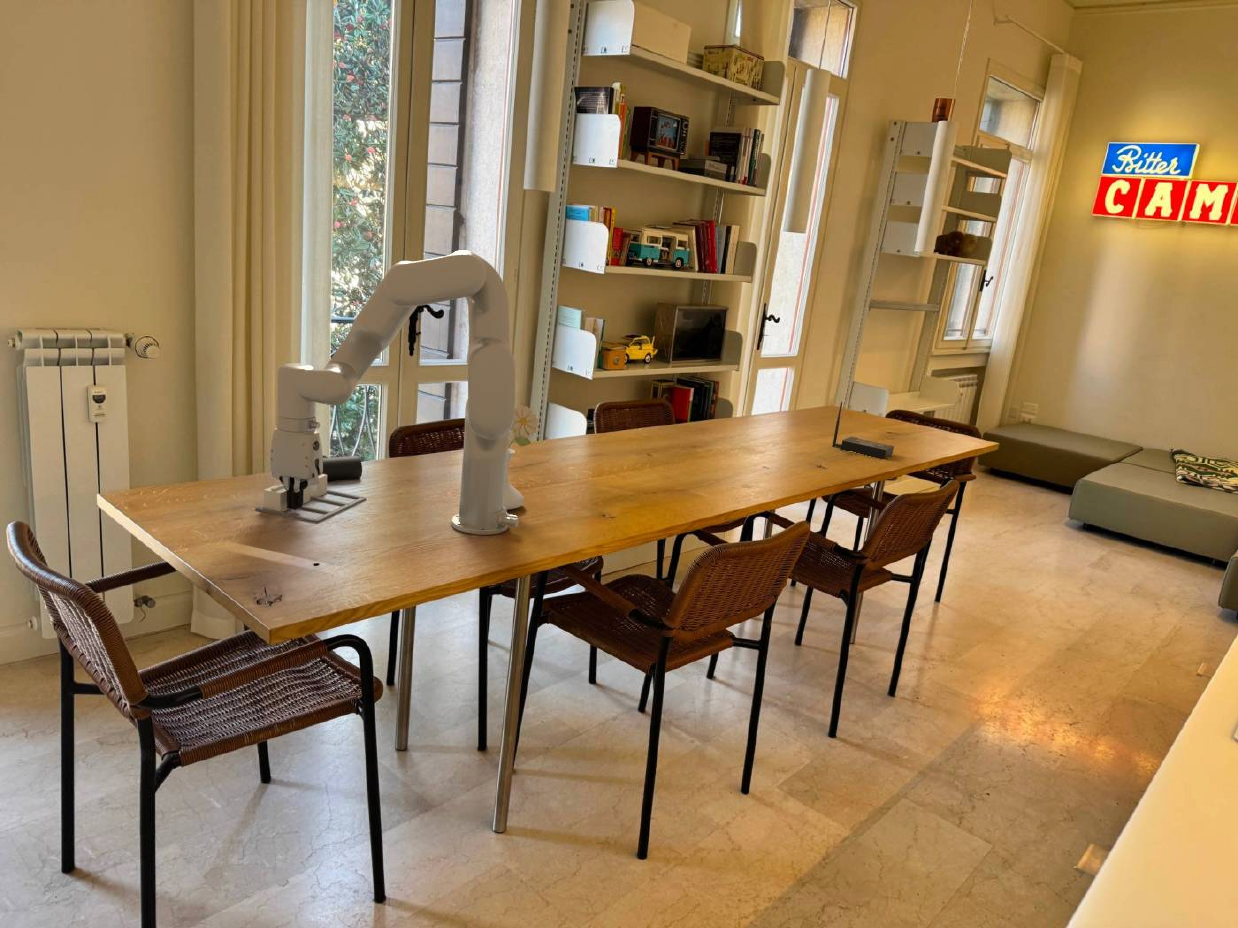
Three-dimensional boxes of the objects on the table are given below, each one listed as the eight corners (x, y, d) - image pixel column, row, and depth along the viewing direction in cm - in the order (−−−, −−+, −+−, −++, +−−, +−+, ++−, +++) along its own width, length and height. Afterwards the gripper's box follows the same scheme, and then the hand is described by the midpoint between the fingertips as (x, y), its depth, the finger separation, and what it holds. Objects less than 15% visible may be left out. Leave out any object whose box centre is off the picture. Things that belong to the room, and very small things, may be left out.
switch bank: (368, 505, 199) (368, 497, 198) (319, 529, 181) (319, 521, 181) (291, 489, 204) (291, 482, 203) (236, 511, 186) (236, 503, 185)
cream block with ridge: (310, 500, 194) (310, 479, 192) (299, 505, 190) (300, 483, 189) (294, 497, 195) (294, 475, 193) (283, 501, 191) (284, 480, 190)
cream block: (291, 508, 188) (291, 486, 186) (280, 513, 184) (280, 490, 183) (275, 504, 189) (275, 482, 187) (263, 509, 185) (263, 487, 184)
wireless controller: (893, 455, 316) (902, 409, 312) (882, 461, 305) (892, 413, 300) (840, 443, 326) (848, 398, 322) (828, 448, 314) (836, 402, 310)
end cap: (322, 489, 206) (322, 462, 205) (310, 481, 212) (311, 454, 210) (362, 485, 213) (363, 458, 211) (349, 477, 218) (350, 451, 216)
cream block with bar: (326, 493, 200) (327, 472, 199) (316, 497, 196) (317, 476, 195) (311, 490, 201) (311, 469, 200) (301, 494, 197) (301, 473, 196)
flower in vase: (479, 513, 202) (486, 408, 196) (473, 498, 213) (481, 397, 206) (534, 514, 206) (543, 411, 200) (526, 499, 217) (535, 401, 210)
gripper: (338, 426, 182) (335, 509, 187) (276, 415, 186) (275, 496, 190) (317, 433, 175) (315, 519, 180) (253, 421, 179) (252, 506, 183)
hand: (294, 507), depth 185 cm, fingers closed
